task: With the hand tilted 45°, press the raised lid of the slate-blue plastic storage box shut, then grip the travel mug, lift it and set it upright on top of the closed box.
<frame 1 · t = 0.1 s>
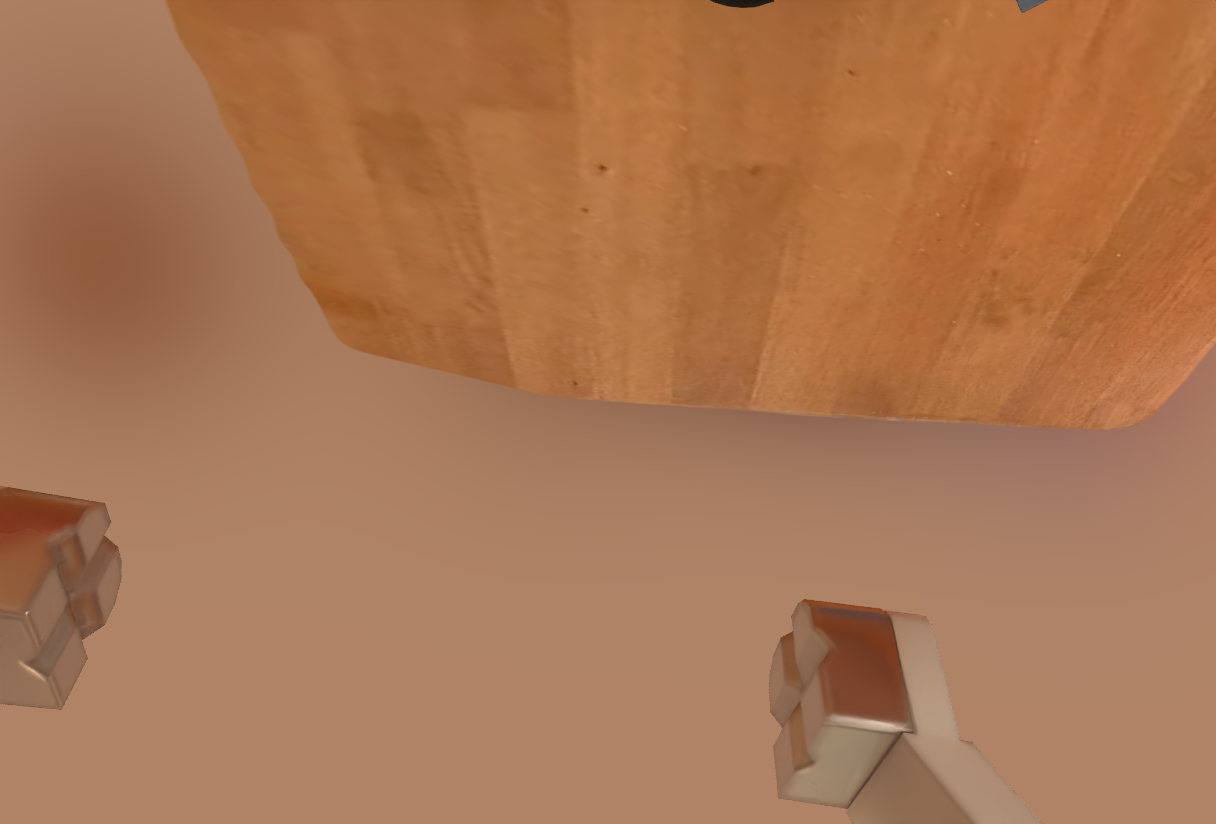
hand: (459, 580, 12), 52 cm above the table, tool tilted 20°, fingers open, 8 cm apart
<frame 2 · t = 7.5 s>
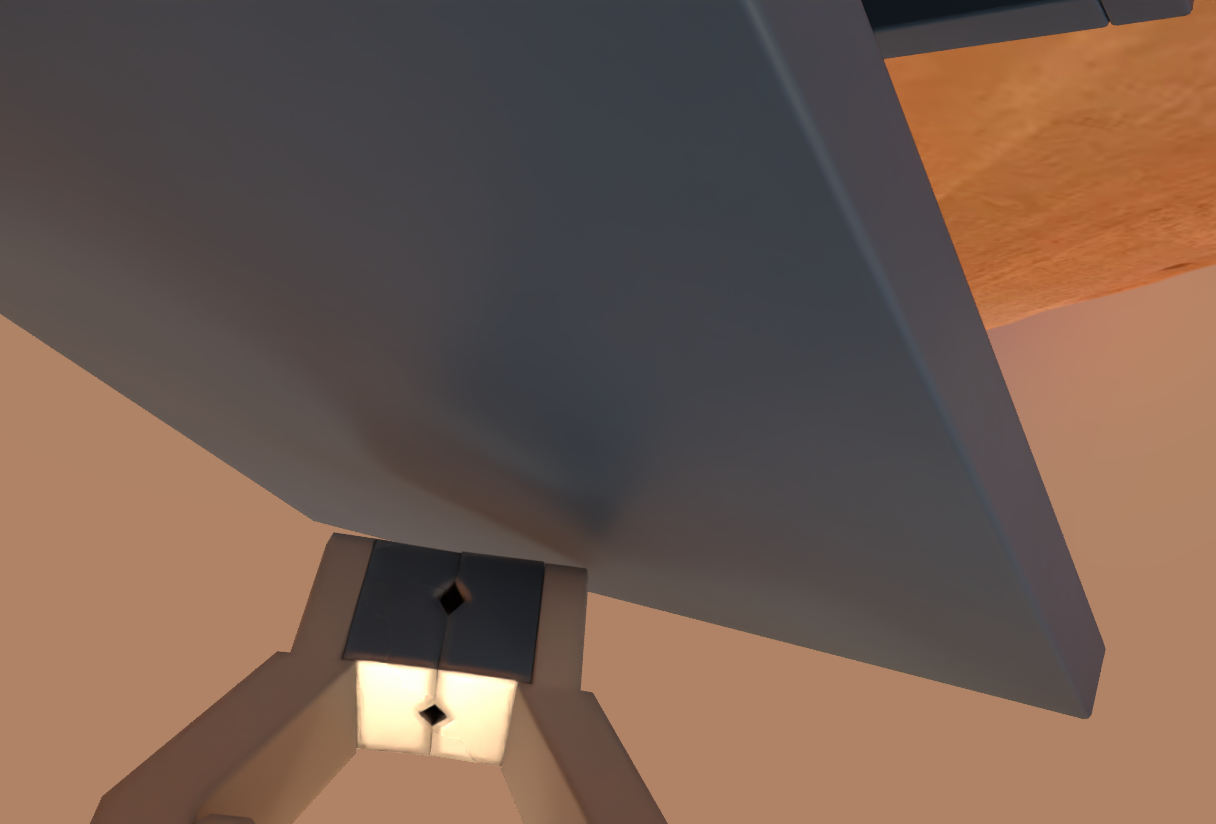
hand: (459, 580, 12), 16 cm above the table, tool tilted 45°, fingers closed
box lid: (148, 174, 8), point 13 cm above the table, hinge at 25.3°, touching gripper
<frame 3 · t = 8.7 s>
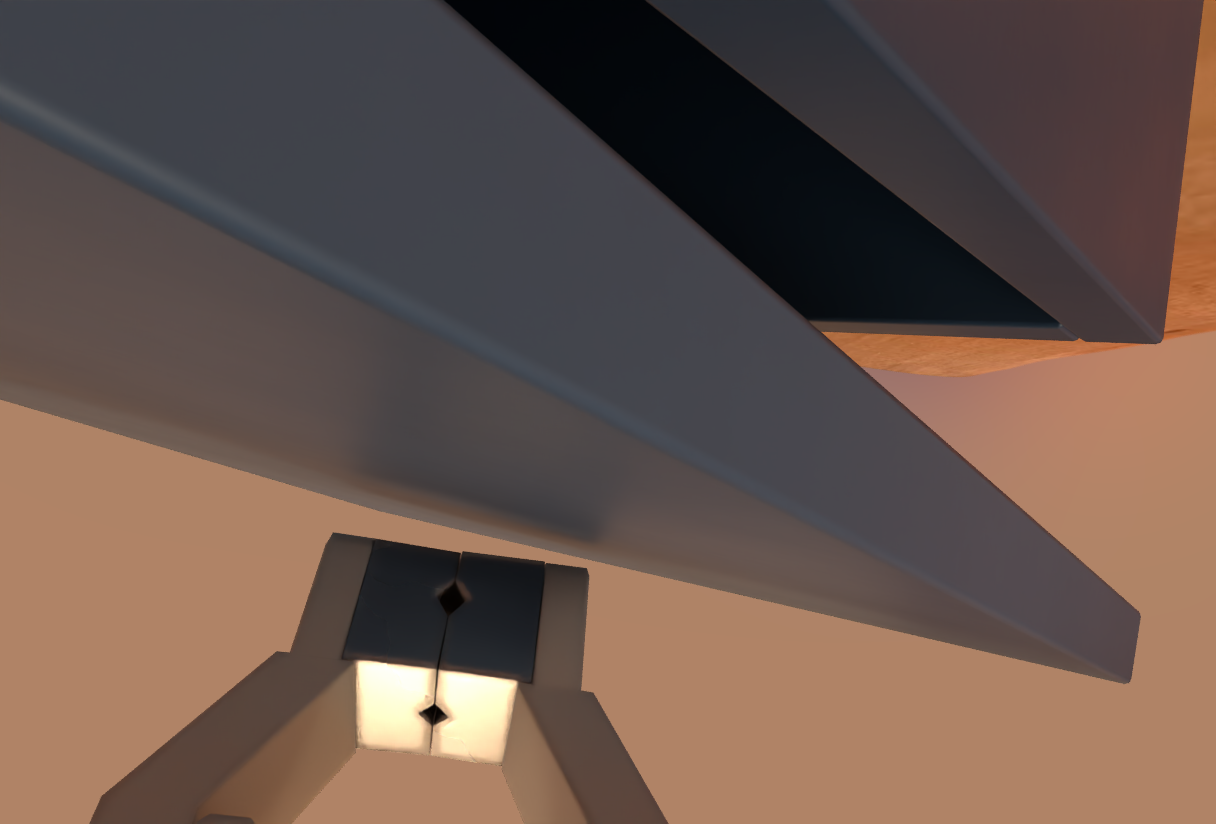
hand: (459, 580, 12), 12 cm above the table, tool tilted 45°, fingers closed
box lid: (191, 379, 9), point 11 cm above the table, hinge at 10.3°, touching gripper
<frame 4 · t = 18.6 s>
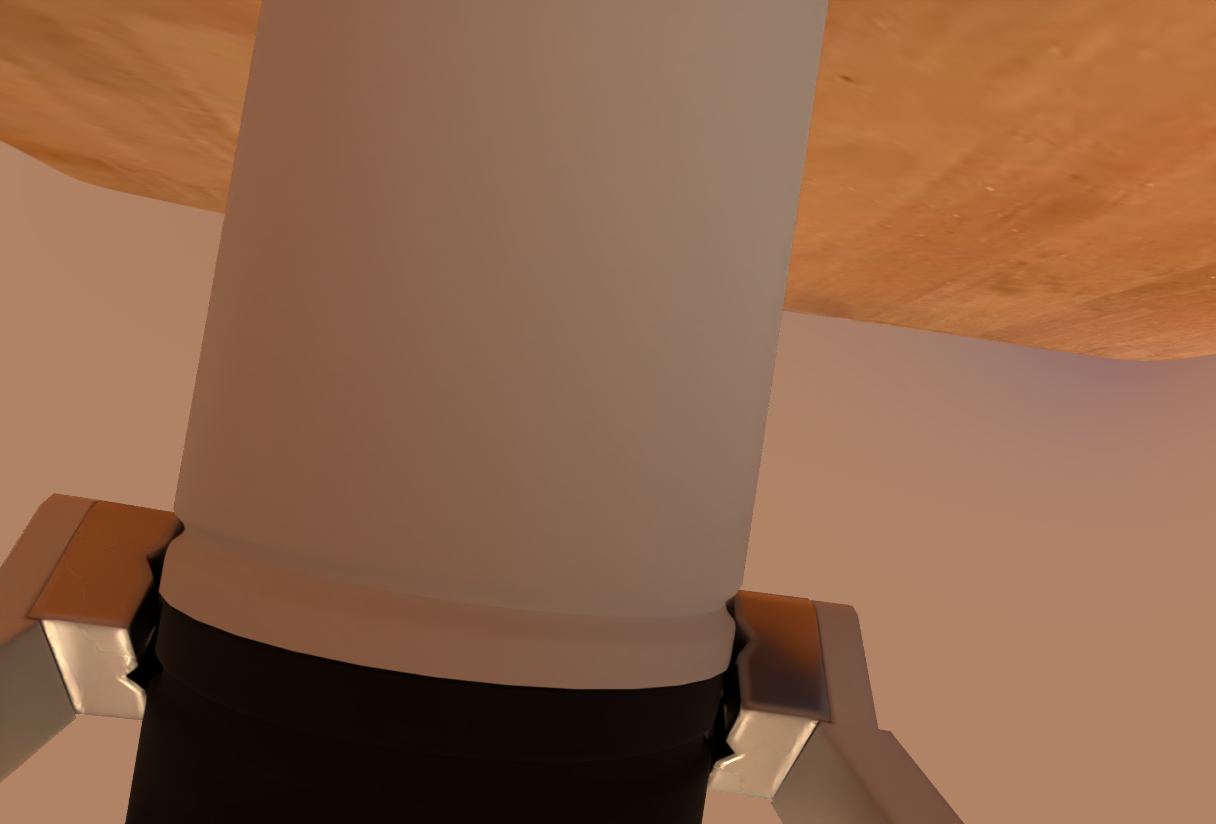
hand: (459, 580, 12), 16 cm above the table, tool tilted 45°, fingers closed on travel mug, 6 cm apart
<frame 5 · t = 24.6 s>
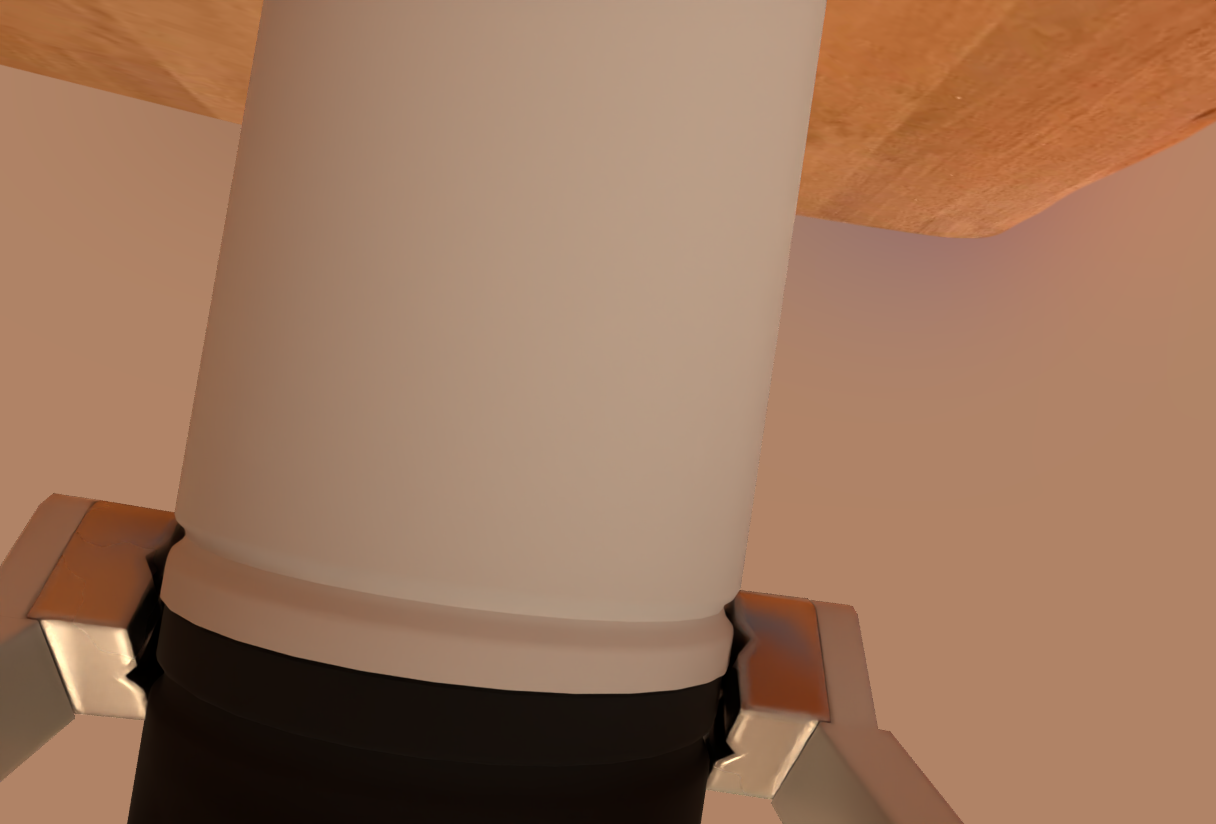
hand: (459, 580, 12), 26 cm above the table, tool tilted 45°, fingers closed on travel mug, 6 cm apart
when the fingers open (26 cm above the table, at t = 24.9 s): travel mug stays where it is, resting on box lid.
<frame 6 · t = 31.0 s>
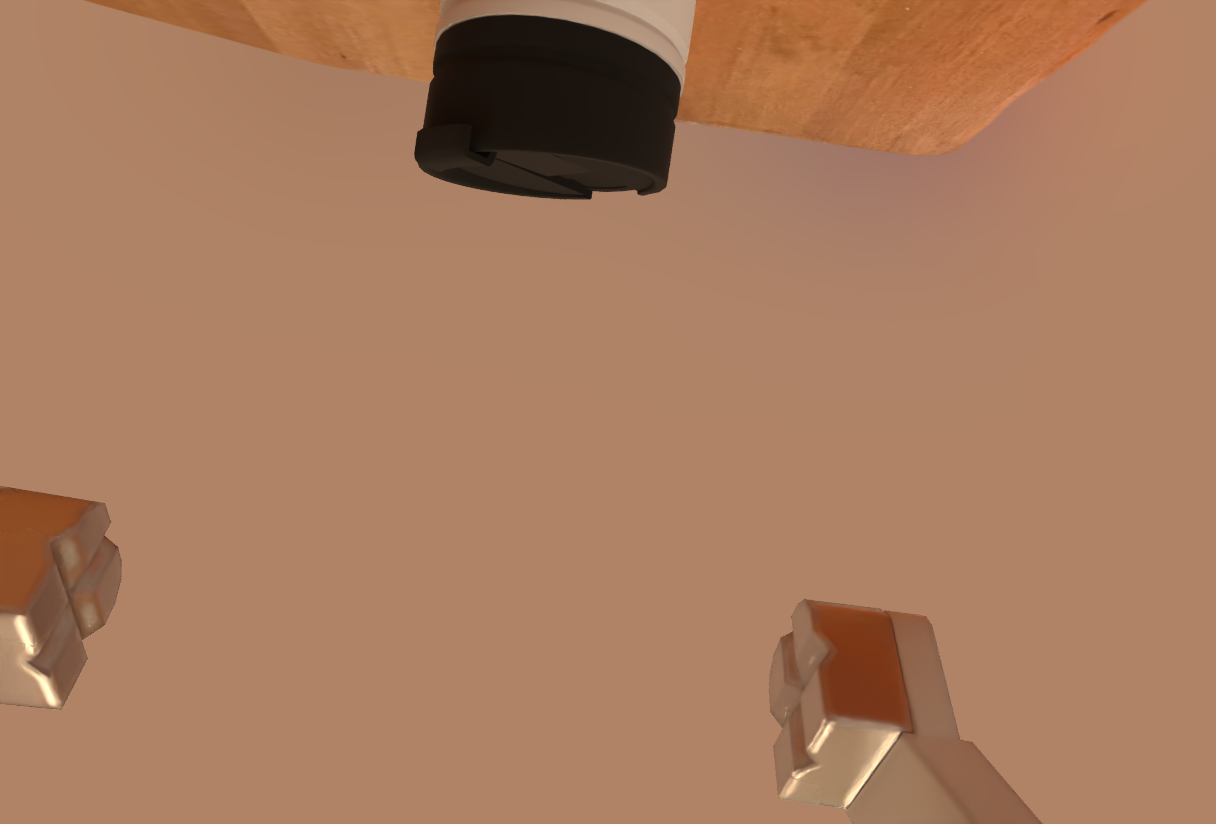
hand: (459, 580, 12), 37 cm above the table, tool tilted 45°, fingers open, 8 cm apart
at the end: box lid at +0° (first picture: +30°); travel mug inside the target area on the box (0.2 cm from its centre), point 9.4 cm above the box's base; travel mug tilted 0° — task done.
